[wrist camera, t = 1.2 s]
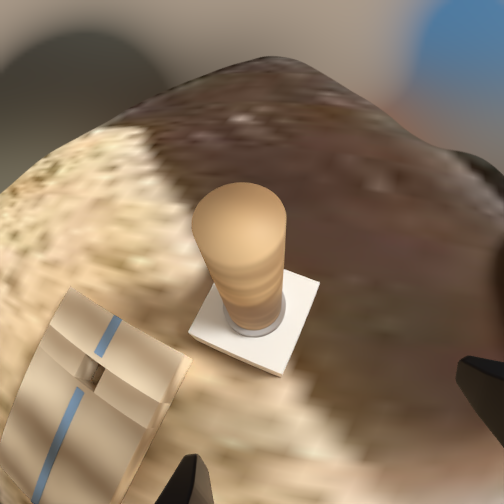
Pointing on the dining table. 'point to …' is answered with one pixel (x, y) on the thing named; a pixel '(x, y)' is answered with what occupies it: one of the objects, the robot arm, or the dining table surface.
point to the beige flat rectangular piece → (88, 406)
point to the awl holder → (262, 348)
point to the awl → (244, 254)
